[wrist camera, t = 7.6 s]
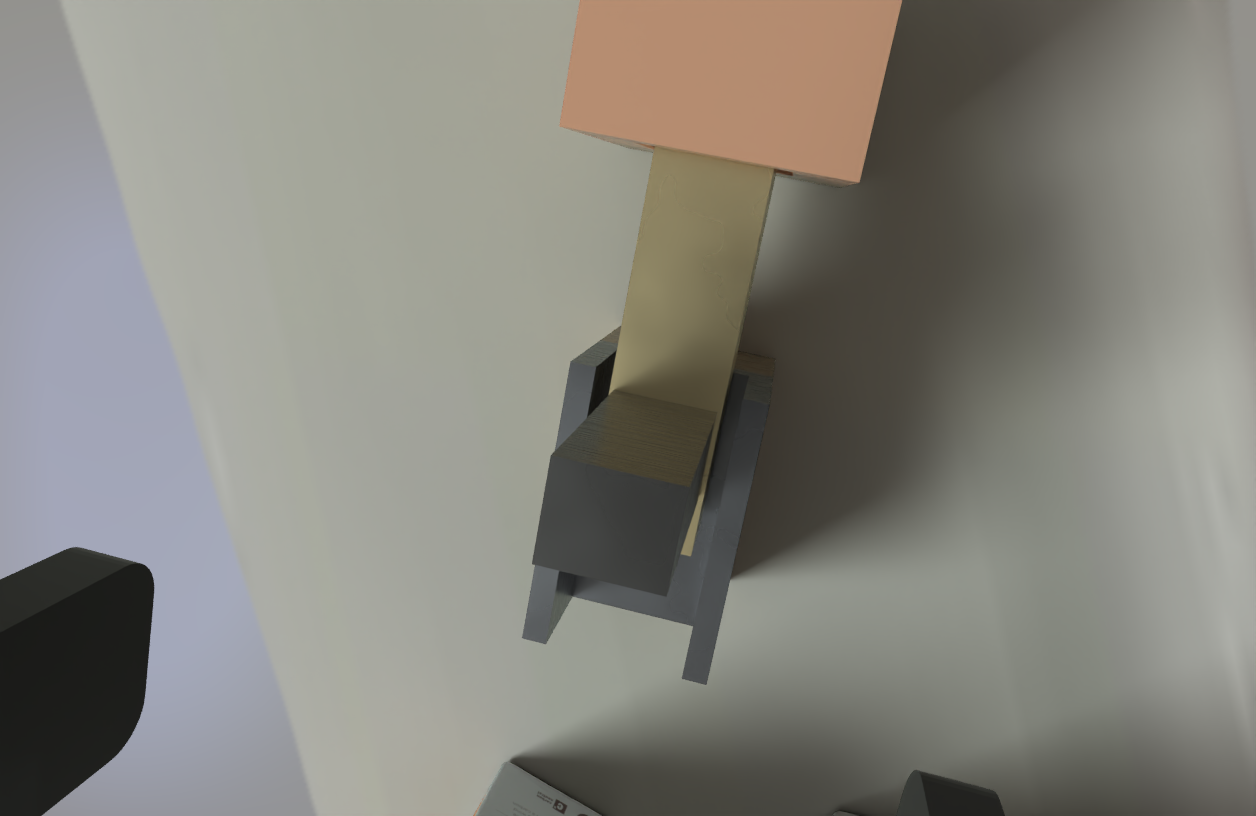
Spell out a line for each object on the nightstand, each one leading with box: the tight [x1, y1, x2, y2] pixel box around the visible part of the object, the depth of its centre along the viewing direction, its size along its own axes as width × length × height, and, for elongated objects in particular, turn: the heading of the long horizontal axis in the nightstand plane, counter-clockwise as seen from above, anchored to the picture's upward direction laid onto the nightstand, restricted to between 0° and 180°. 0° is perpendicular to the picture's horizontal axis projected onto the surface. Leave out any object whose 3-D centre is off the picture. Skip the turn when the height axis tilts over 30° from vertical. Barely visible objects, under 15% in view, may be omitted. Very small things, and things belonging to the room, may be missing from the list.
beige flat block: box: [532, 146, 777, 597], centre depth 20 cm, size 12×3×9 cm, turn 170°
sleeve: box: [522, 326, 775, 685], centre depth 26 cm, size 7×5×7 cm, turn 170°
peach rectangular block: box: [560, 0, 902, 188], centre depth 23 cm, size 5×6×8 cm
